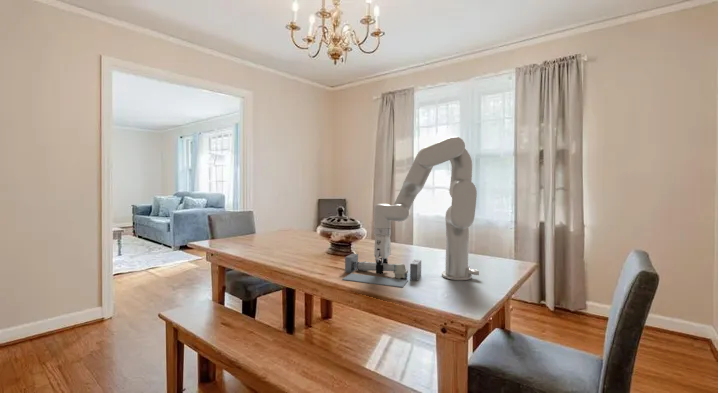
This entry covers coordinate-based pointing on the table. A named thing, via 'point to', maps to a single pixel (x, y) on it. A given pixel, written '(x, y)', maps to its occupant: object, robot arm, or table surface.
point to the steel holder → (353, 259)
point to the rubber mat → (376, 280)
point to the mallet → (384, 268)
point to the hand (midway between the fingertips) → (381, 271)
